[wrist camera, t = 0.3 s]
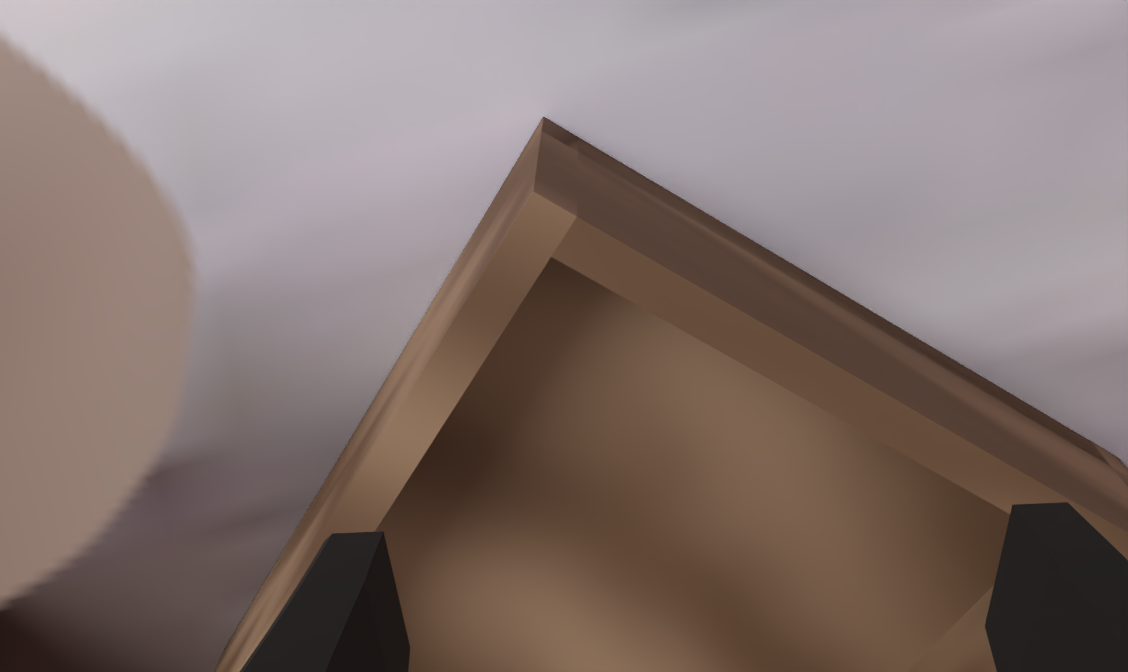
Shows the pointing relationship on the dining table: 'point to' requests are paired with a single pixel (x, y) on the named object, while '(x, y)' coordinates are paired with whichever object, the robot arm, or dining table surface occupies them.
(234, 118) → the dining table surface
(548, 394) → the big crate
